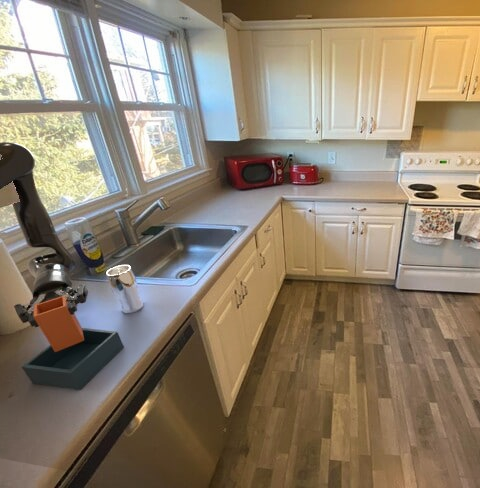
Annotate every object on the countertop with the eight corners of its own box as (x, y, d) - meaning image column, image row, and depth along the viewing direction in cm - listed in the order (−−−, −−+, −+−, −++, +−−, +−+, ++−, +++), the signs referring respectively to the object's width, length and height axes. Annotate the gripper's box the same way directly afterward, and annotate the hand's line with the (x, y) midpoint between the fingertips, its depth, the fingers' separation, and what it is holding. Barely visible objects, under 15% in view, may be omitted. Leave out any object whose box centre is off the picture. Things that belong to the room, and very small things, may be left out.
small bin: (55, 352, 67) (33, 316, 62) (54, 339, 71) (34, 305, 66) (84, 340, 71) (65, 305, 66) (82, 328, 74) (64, 295, 69)
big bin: (32, 383, 69) (20, 366, 67) (82, 342, 81) (74, 327, 79) (80, 389, 67) (70, 373, 65) (124, 347, 79) (117, 331, 77)
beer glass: (119, 316, 91) (102, 277, 85) (123, 304, 97) (108, 267, 90) (143, 311, 94) (129, 272, 87) (146, 299, 99) (133, 262, 93)
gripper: (8, 285, 70) (1, 319, 59) (80, 265, 79) (86, 291, 68) (23, 309, 74) (18, 345, 62) (90, 287, 82) (97, 316, 71)
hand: (54, 317), depth 65 cm, fingers closed on small bin, 5 cm apart
